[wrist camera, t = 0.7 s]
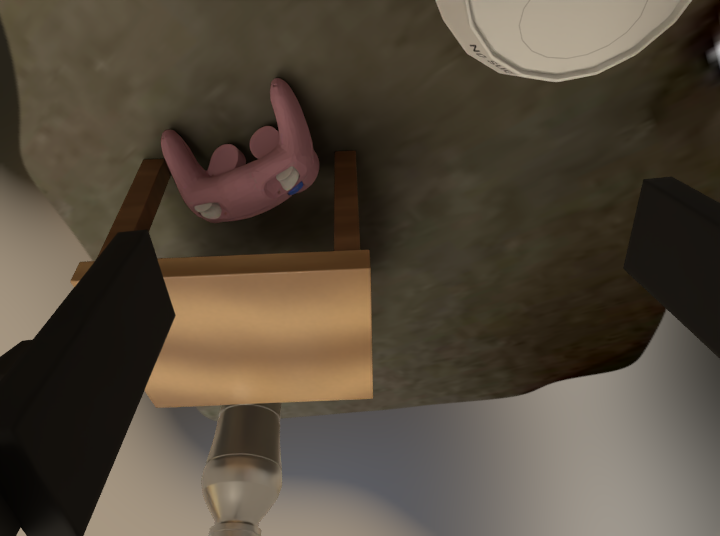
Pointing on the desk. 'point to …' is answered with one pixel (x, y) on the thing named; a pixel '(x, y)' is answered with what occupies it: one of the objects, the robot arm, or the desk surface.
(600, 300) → the desk surface
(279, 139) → the video game controller
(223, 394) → the side table
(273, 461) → the plastic bottle
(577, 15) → the supplement can
